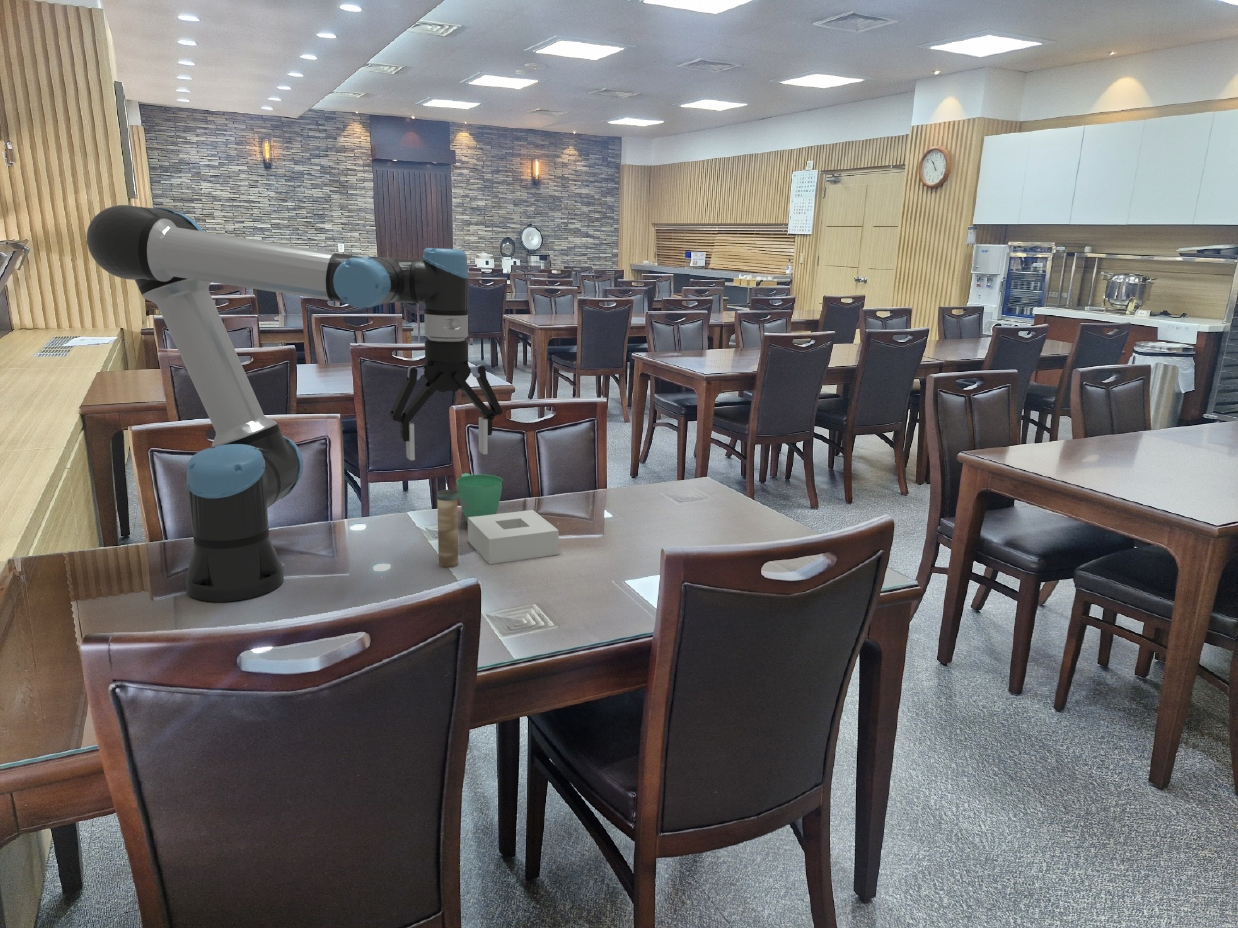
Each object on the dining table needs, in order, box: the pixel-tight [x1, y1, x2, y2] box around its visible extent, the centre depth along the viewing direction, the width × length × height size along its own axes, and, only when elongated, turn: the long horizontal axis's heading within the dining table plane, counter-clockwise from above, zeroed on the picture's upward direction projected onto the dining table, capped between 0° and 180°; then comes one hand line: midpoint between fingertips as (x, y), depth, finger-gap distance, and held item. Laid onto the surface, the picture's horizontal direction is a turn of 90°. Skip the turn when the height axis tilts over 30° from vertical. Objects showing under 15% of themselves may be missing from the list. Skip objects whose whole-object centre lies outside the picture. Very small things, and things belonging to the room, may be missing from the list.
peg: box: [436, 489, 459, 569], centre depth 150 cm, size 4×4×14 cm
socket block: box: [467, 509, 560, 565], centre depth 161 cm, size 14×14×5 cm
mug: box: [455, 472, 504, 524], centre depth 175 cm, size 15×10×10 cm
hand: (447, 455), depth 148 cm, fingers open, 13 cm apart
